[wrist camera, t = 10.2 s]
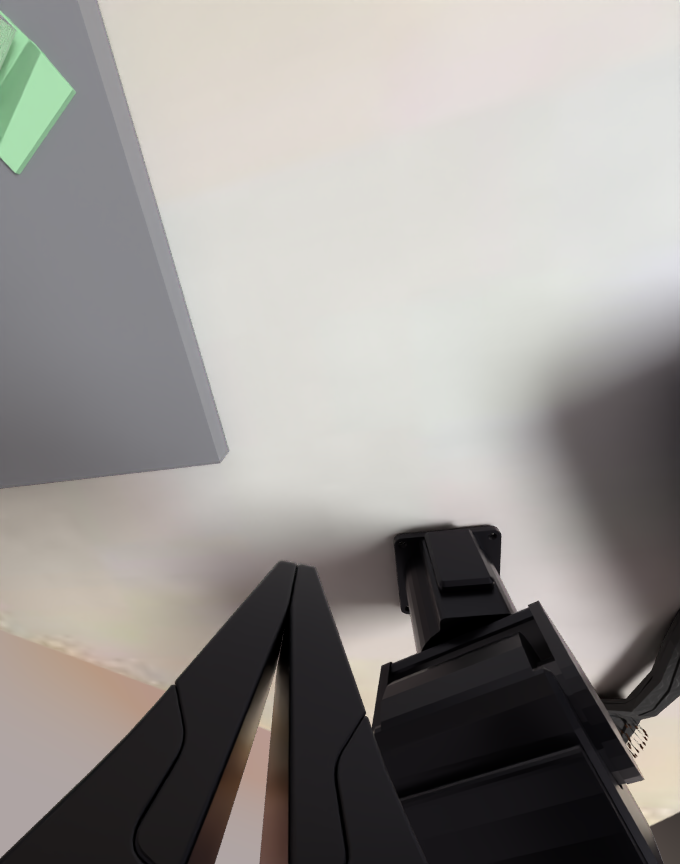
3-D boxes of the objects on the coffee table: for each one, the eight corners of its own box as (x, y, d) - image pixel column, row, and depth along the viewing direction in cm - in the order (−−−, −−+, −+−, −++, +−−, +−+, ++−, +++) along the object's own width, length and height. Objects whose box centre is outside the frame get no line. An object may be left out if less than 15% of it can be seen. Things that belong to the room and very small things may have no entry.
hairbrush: (813, 643, 22) (592, 848, 30) (749, 596, 25) (567, 791, 33) (695, 608, 21) (502, 828, 29) (646, 565, 24) (486, 772, 33)
